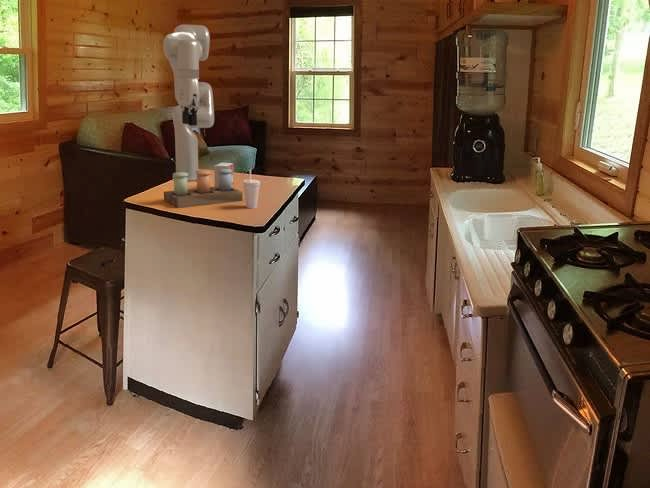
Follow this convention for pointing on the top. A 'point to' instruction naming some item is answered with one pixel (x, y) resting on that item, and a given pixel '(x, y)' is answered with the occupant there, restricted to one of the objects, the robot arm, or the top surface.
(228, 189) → the blue-grey jar
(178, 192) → the sage button
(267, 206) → the top surface
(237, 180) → the top surface
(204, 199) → the button board
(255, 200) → the smoothie
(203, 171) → the pink lidded jar
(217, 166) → the grey arched frame
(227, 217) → the top surface
